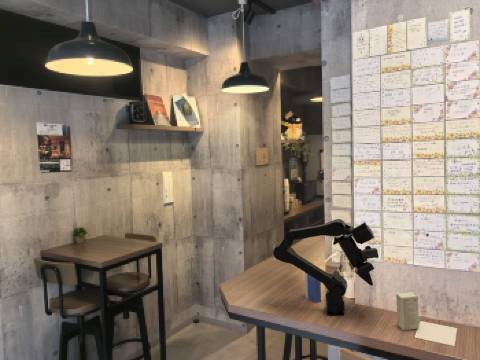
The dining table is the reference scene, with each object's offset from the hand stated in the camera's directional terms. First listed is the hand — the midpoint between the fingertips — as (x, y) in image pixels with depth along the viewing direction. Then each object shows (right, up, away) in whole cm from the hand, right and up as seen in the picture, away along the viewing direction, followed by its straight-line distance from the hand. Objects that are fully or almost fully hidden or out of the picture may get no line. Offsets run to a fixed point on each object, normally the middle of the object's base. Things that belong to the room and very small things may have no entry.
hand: (371, 285), depth 150 cm
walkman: (-19, -12, +19) cm, 30 cm away
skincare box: (+10, -13, -9) cm, 19 cm away
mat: (+18, -13, -14) cm, 26 cm away
